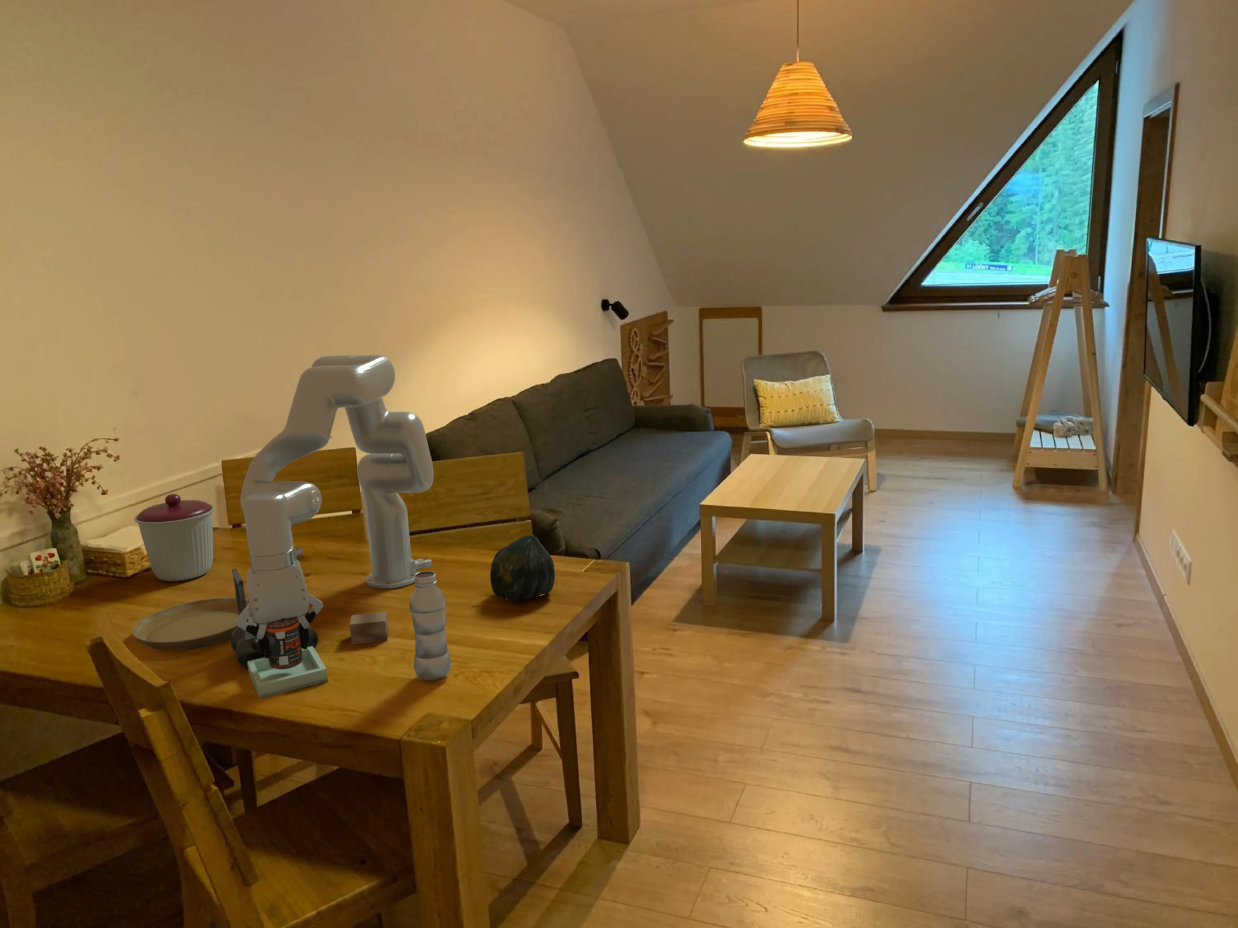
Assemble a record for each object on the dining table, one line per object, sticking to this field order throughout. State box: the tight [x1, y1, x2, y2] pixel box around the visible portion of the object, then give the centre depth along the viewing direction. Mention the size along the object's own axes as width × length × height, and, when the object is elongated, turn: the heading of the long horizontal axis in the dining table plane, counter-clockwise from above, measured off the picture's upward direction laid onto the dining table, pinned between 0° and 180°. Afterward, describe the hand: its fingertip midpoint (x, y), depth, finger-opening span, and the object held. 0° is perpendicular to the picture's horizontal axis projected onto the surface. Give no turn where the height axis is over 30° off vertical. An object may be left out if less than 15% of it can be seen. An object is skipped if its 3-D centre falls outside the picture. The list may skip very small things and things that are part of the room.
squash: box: [489, 534, 556, 602], centre depth 203 cm, size 14×15×15 cm
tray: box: [247, 646, 329, 700], centre depth 167 cm, size 12×12×2 cm
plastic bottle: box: [408, 570, 452, 681], centre depth 164 cm, size 6×7×20 cm
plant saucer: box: [132, 597, 248, 651], centre depth 191 cm, size 24×24×3 cm
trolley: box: [229, 568, 319, 669], centre depth 176 cm, size 15×9×18 cm, turn 120°
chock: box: [349, 611, 390, 646], centre depth 184 cm, size 7×5×4 cm
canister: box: [133, 493, 215, 582], centre depth 225 cm, size 18×18×21 cm
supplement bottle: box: [265, 617, 303, 669], centre depth 166 cm, size 6×6×11 cm
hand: (285, 650), depth 167 cm, fingers closed on supplement bottle, 6 cm apart
